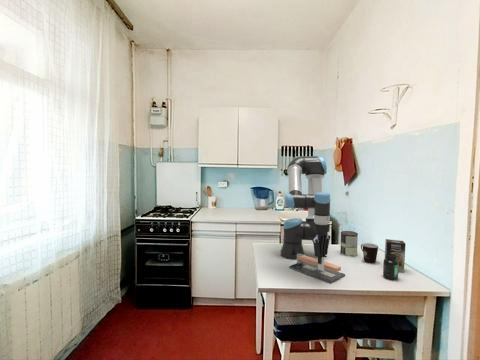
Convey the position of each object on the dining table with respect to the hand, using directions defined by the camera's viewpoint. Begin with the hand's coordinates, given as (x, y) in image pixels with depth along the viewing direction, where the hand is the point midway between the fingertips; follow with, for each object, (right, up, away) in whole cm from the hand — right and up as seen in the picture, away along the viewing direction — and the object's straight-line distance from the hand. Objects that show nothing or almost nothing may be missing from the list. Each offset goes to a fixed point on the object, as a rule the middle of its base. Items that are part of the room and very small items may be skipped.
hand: (320, 269), depth 135 cm
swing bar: (+1, -1, +10) cm, 10 cm away
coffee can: (+30, -3, +39) cm, 49 cm away
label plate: (+1, -5, +10) cm, 11 cm away
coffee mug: (+37, -4, +27) cm, 46 cm away
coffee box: (+45, -5, +14) cm, 47 cm away
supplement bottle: (+37, -5, +3) cm, 37 cm away
